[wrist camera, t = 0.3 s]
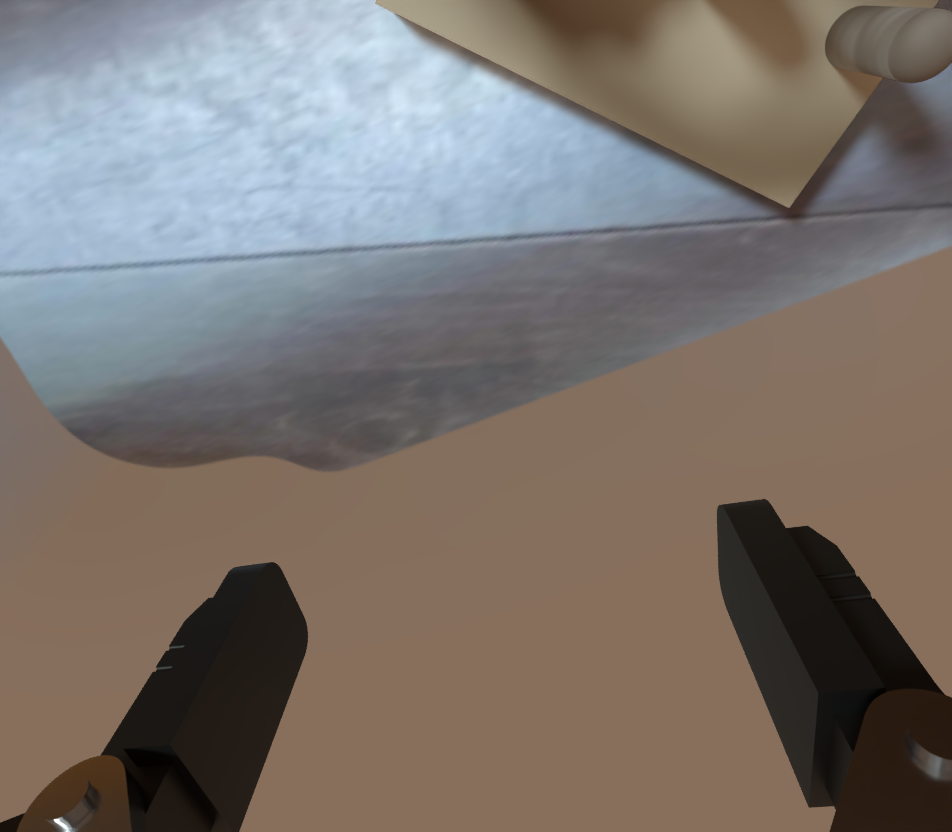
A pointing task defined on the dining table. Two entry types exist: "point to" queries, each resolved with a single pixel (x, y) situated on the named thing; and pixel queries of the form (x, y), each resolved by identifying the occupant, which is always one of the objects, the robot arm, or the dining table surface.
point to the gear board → (710, 68)
